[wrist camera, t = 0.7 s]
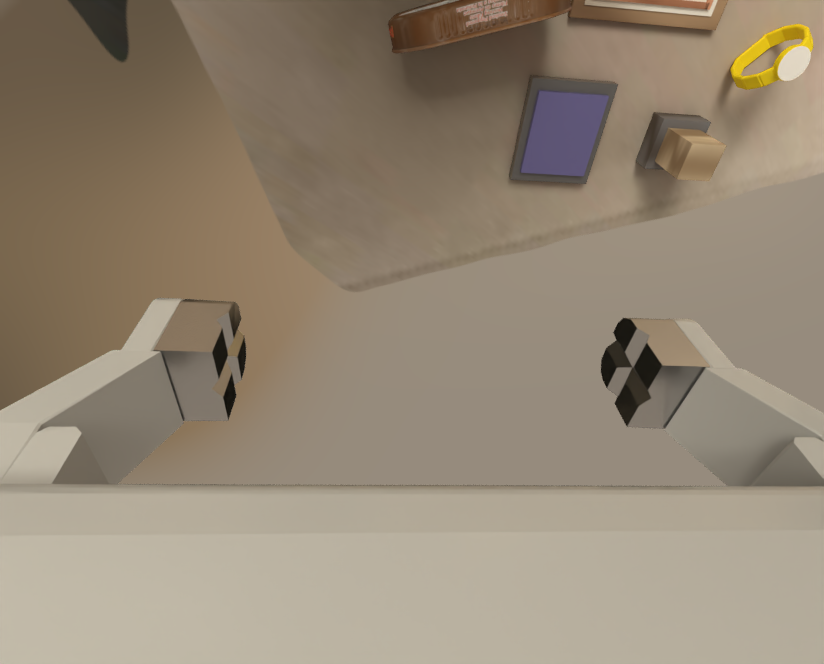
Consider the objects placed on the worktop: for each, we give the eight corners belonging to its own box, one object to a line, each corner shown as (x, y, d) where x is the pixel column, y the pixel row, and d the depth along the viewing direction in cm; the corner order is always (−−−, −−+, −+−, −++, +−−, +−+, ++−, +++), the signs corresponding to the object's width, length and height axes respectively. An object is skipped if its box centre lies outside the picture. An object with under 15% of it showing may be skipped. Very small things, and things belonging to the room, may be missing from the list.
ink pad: (530, 75, 46) (534, 78, 45) (614, 82, 47) (620, 85, 46) (509, 175, 52) (511, 181, 51) (582, 180, 53) (587, 185, 52)
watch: (775, 14, 44) (827, 19, 39) (785, 39, 46) (836, 46, 41) (715, 67, 46) (757, 77, 42) (726, 89, 48) (768, 101, 43)
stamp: (653, 112, 49) (688, 134, 43) (699, 115, 49) (739, 137, 44) (635, 160, 52) (665, 186, 47) (678, 163, 53) (712, 189, 47)
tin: (392, 47, 44) (394, 66, 37) (384, 7, 42) (385, 20, 35) (555, 6, 43) (586, 19, 36) (554, -37, 41) (587, -32, 34)
